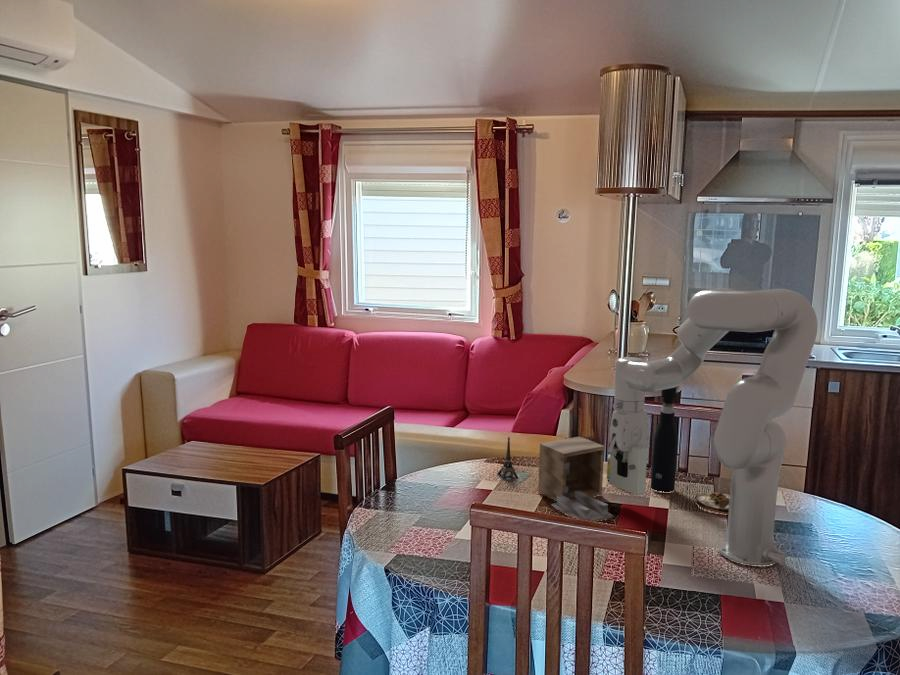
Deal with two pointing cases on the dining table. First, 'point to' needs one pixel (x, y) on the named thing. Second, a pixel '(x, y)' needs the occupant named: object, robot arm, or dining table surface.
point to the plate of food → (714, 502)
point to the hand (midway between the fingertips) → (627, 474)
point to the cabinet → (573, 477)
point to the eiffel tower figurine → (511, 470)
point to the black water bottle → (665, 446)
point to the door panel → (631, 471)
